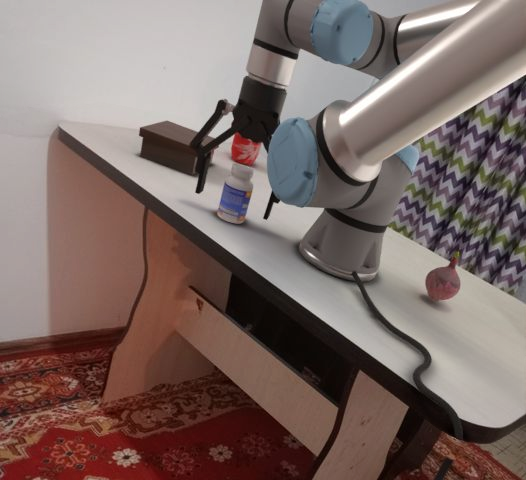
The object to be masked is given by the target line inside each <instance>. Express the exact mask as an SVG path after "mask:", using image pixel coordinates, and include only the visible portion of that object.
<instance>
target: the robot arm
mask: <svg viewBox="0 0 526 480" xmlns="http://www.w3.org/2000/svg"><path fill="white" fill-rule="evenodd" d="M301 50H303V51H305V52H307V53H309V54H312V55H313V56H316V57H318V58H320V59H322V60H323V61H325V62H329V63H331V64H334V65H341V66H343V67H347V68H349V69H352V70H355V71H357V72H361V73H363V74H366V75H368V76H371V77H374V78H375V79H377V80H378V81H377V82H375V83H374V84H373V85H371V86H369V88H368V89H367V90H365V91H364V92H363V93H361V94H360V95H359V96H357V97H356V98H355V99H353V100H352V101H348V100H346V99H336V100H334V101H332V102H330V103H329V104H328V105H327V106H325V107H324V108H323V109H322V110H321V111H319V112H317V114H316V115H314V116H313V117H311V118H310V119H305V118H303V117H300V116H297V117H290V118H287V119H285V120H283V121H282V122H281V115H282V112H283V109H284V105H285V102H286V100H287V95H288V92H287V89H286V88H288V87H289V86H291V81H292V79H293V75H294V72H295V69H296V65H297V62H298V59H299V55H300V51H301ZM245 71H246V73H248V74H247V75H245V76H244V77H243V79H242V82H241V87H240V92H239V96H238V98H237V102H236V104H235V105H234V104H232V103H231V102H229V101H228V99H226V98H222V99H219V100H218V101H217V104H216V106H215V109H214V112H213V113H212V114H211V115H210V117H209V118H208V119H207V121H206V122H205V124H203V126H202V127H201V129H200V130H199V131H197V132H198V133H197V135H196V136H195V137H194V138H193V140H192V141H191V142H190V144H189V146H190V148H191V149H194V150H195V151H196V152H197V154H198V157H197V162H196V166H195V174H198V177H197V182H196V187H195V191H194V193H195V194H197V195H200V194H201V193H202V192H204V188H205V184H206V181H207V177H208V173H209V168H210V165H211V164H210V160H211V156H208V155H207V153H209V152H210V151H211V150H213V149H214V148H216V147H217V146H219V147H220V146H221V145H222V144H224V142H226V141H227V140H230V138H231V137H234V135H235V134H236V133H239V135H240V136H241V138H244V139H250V140H251V141H253V142H254V143H257V144H258V143H261V144H262V145H263V148H264V149H265V151H266V154H267V155H266V156H267V158H266V173H267V179H268V183H269V186H270V188H271V193H270V195H269V199H268V201H267V205H266V208H265V212H264V214H263V217H262V219H263V220H265V221H268V219H269V218H270V216H271V212H272V210H273V207H274V204H277V205H278V204H279V203H280V202H282V203H283V204H285V205H288V206H294V207H297V208H302V209H303V208H318V209H323V211H322V212H321V214H320V215H319V216H318V218H316V220H315V221H314V222H313V224H312V225H311V226H310V227H309V229H308V230H307V231H306V232H305V234H304V235H303V237H302V239H301V241H300V244H299V247H298V250H299V253H300V254H301V256H302V257H303V258H304V259H305V260H306V261H307V262H308V263H310V264H311V265H312V266H314V267H316V268H317V269H319V270H321V271H323V272H325V273H327V274H329V275H332V276H334V277H336V278H340V279H343V280H348V281H352V282H355V283H356V285H357V287H358V289H359V291H360V293H361V296H362V298H363V300H364V302H365V303H366V305H367V306H368V308H369V310H370V311H371V313H372V314H373V315H374V317H375V318H376V319H377V320H378V321H379V322H380V323H381V325H383V326H384V327H385V328H386V329H387V330H388V331H389V332H391V333H392V334H394V335H395V336H397V337H398V338H400V339H401V340H402V341H405V342H407V343H408V344H410V346H412V347H414V348H415V349H416V350H417V351H419V352H420V354H422V356H423V358H424V361H423V362H422V363H421V364H420V365H418V366H417V367H416V368H415V369H414V371H413V374H412V380H413V383H414V384H415V387H416V388H417V390H418V391H420V392H421V393H422V394H423V395H424V396H425V397H427V399H429V400H431V401H432V402H434V403H435V404H436V405H437V406H439V407H440V408H441V409H442V410H443V411H444V412H445V413H446V414H447V416H448V417H449V419H450V421H451V423H452V426H453V432H454V433H453V434H454V436H455V437H456V438H457V439H458V440H460V441H462V440H463V438H464V430H463V425H462V422H461V419H460V417H459V414H458V413H457V412H456V410H455V409H454V407H453V406H452V405H451V404H450V403H449V402H447V400H445V399H444V398H443V397H441V396H440V395H438V394H437V393H435V392H434V391H432V390H431V389H430V388H429V387H428V386H426V385H425V384H424V383H423V381H422V378H421V375H422V374H423V372H425V371H426V370H427V369H428V368H430V366H431V365H432V363H433V358H432V355H431V353H430V351H429V350H428V349H427V347H426V346H424V345H423V344H422V343H421V342H419V341H418V340H417V339H415V338H414V337H412V336H410V335H409V334H407V333H405V332H403V331H402V330H401V329H399V328H398V327H396V326H395V325H393V324H392V323H391V322H390V321H389V320H388V319H387V317H385V316H384V315H383V314H382V313H381V312H380V311H379V309H378V308H377V307H376V305H375V303H374V302H373V301H372V299H371V298H370V296H369V294H368V291H367V289H366V287H365V285H364V283H363V282H369V281H373V280H374V279H375V277H376V275H377V273H378V272H379V268H380V264H381V255H382V249H383V241H384V235H385V233H386V231H387V229H388V226H389V225H390V222H391V220H392V219H393V216H394V214H395V212H396V210H397V208H398V206H399V204H400V202H401V199H402V197H403V196H404V193H405V191H406V189H407V187H408V185H409V184H410V183H409V182H410V181H411V178H413V177H414V174H415V170H416V167H417V164H418V162H419V160H420V153H419V150H418V148H416V146H414V145H412V144H413V143H414V142H416V141H418V140H419V139H422V138H423V137H425V136H426V135H429V133H432V132H433V131H435V130H436V129H438V128H439V127H441V126H443V125H445V124H446V123H448V122H450V121H451V120H453V119H455V118H457V117H458V116H459V115H461V114H462V113H464V112H466V111H468V110H470V109H471V108H473V107H475V106H476V105H478V104H479V103H481V102H483V101H484V100H486V99H488V98H490V97H491V96H493V95H494V94H496V93H497V92H499V91H502V90H503V89H505V88H506V87H508V86H509V85H511V84H512V83H514V82H516V81H518V80H519V79H522V77H524V76H526V0H448V1H446V2H442V3H439V4H435V5H432V6H429V7H425V8H421V9H418V10H415V11H411V12H409V13H405V14H402V15H401V14H400V15H398V16H394V17H385V16H384V15H382V14H379V13H378V12H375V11H374V10H371V9H369V7H368V5H367V4H366V3H364V2H363V1H361V0H262V2H261V6H260V10H259V14H258V19H257V23H256V27H255V31H254V36H253V41H252V43H251V47H250V50H249V55H248V59H247V63H246V67H245ZM230 113H231V115H232V118H233V120H234V121H235V125H233V126H232V127H231V126H230V127H229V128H227V129H226V130H225V131H223V132H222V133H221V134H219V135H218V136H216V137H214V138H215V139H213V140H212V141H211V142H209V143H208V144H206V145H205V146H203V145H202V144H201V143H202V142H203V141H204V139H205V138H206V137H207V136H210V134H211V132H212V131H213V130H214V129H215V128H216V126H217V125H218V124H219V122H220V121H221V120H222V119H223V117H225V116H228V115H229V114H230ZM209 164H210V165H209ZM453 463H454V459H451V458H448V457H445V458H444V460H443V461H442V463H441V464H440V467H439V468H438V470H437V472H436V474H435V476H434V478H433V480H444V478H445V477H446V475H447V473H448V472H449V469H450V468H451V466H452V464H453Z"/></svg>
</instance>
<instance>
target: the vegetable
mask: <svg viewBox="0 0 526 480" xmlns="http://www.w3.org/2000/svg"><path fill="white" fill-rule="evenodd" d="M459 256H460V252H459V251H455V253H454V254H453V255H452V258H451V260H450V262H449V263H448V265H446V266H438V267H436V268H434V269H432V270H430V271H429V272H428V273H427V275H426V277H425V280H424V281H425V283H424V285H425V289H426V293H427V295H428V297H429V299H430V300H431V301H433V302H439V301H446V300H450V299H452V298H454V297H455V296H456V295H458V293H459V291H460V289H461V285H462V284H461V283H462V282H461V279H460V276H459V274H458V272H457V269H456V266H457V263H458V260H459Z"/></svg>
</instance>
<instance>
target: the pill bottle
mask: <svg viewBox="0 0 526 480" xmlns="http://www.w3.org/2000/svg"><path fill="white" fill-rule="evenodd" d="M254 172H255V171H254V169H253V168H252V167H250V166H249V165H245V164H241V163H233V164H232V166H231V169H230V173H231V174H229V175H227V176H226V177H225V179H224V183H223V188H222V191H221V196H220V199H219V204H218V207H217V208H218V209H217V212H216V213H217V217H219V218H220V219H221V220H223V221H225V222H228V223H230V224H237V225H238V224H239V225H240V224H242V223H244V222H245V220H246V216H247V212H248V209H249V206H250V201H251V198H252V194H253V192H254V191H253V190H254V183H253V182H252V181H251V180H252V179H253V176H254Z"/></svg>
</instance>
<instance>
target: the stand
mask: <svg viewBox="0 0 526 480" xmlns="http://www.w3.org/2000/svg"><path fill="white" fill-rule="evenodd" d="M198 132H199V131H197V130H194V129H191V128H189V127H186V126H184V125H180V124H178V123H176V122H173V121H169V120H163V121H160V122H156V123H152V124H148V125H144V126H140V127H139V131H138V136H139V137H141V138H142V141H141V148H140V155H139V157H141V158H142V159H143V158H144V159H146V160H149V161H151V162H155V163H156V164H159V165H162V166H164V167H167V168H169V169H173V170H175V171H178V172H181V173H184V174H186V175H189V176H194V175H195V174H196V172H195V166H196V162H197V157H198V154H197V152H196V151H195V150H194V149H191V148H190V146H189V144H190V142H191V141H192V140H193V138H194V137H195V136H196V135H197V133H198ZM215 138H216V137H212V136H210V135H208V136H207V137H206V138H205V139H204V141H203V142H202V143H201V144H202V145H203V146H205V145H206V144H208V143H209V142H211V141H212V140H213V139H215ZM218 148H220V145H219V146H217V147H216V148H214V149H213V150H211V151H210V152H209V153H207V155H208V156H211V160H210V164H209V166H210V165H211V164H212V163H213V158H214V154H215V150H217V149H218Z"/></svg>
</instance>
